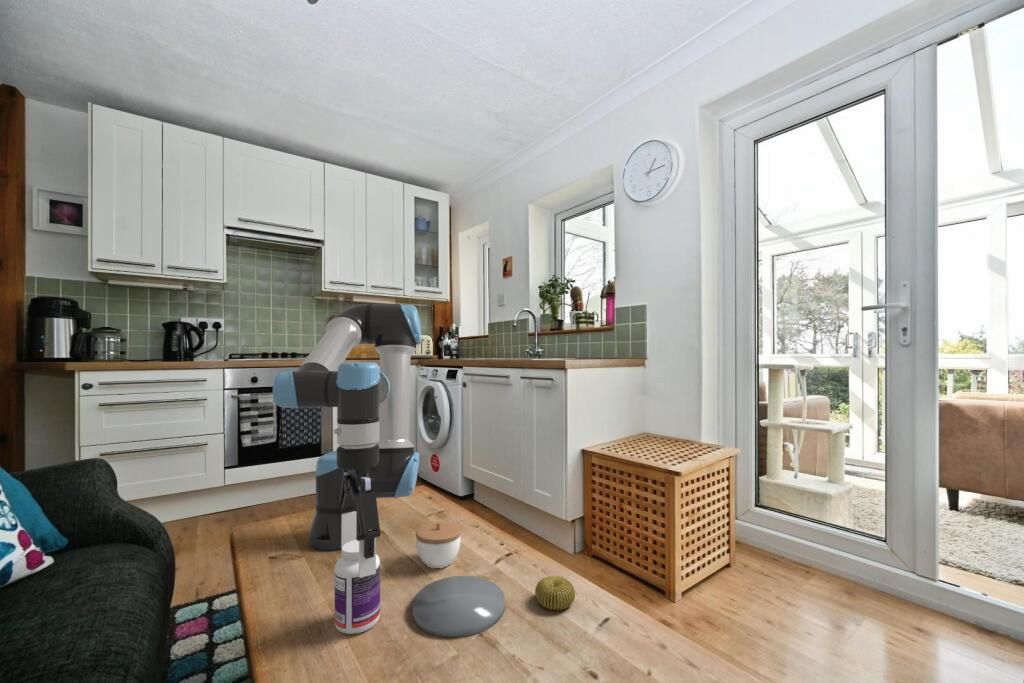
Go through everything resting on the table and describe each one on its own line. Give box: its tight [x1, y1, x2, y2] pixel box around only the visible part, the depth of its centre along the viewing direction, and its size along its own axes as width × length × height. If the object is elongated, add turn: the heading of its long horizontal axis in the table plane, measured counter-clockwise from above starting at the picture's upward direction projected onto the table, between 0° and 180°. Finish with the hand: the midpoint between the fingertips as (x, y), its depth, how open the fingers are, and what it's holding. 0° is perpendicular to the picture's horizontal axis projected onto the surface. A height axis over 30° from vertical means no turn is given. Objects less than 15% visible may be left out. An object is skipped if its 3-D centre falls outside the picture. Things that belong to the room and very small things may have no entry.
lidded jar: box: [415, 520, 462, 569], centre depth 104 cm, size 11×11×9 cm
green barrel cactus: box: [534, 575, 576, 611], centre depth 88 cm, size 8×4×8 cm
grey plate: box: [411, 575, 506, 638], centre depth 86 cm, size 18×18×2 cm
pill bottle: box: [334, 540, 381, 635], centre depth 81 cm, size 8×8×14 cm
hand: (357, 559), depth 81 cm, fingers open, 13 cm apart
